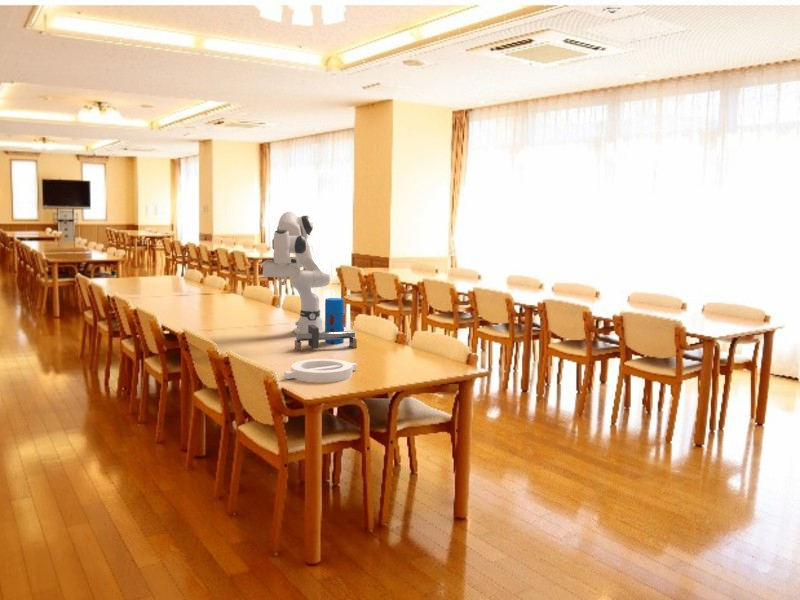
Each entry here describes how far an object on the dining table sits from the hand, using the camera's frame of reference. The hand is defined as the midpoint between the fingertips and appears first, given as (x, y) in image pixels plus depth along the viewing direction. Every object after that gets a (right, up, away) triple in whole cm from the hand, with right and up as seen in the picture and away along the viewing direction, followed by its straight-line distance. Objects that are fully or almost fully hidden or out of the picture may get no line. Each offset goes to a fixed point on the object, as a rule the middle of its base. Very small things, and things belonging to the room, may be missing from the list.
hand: (281, 285), depth 366 cm
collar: (+18, -34, -3) cm, 38 cm away
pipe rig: (+24, -35, 0) cm, 42 cm away
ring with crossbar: (+29, -43, -59) cm, 79 cm away
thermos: (+27, -33, +18) cm, 46 cm away
